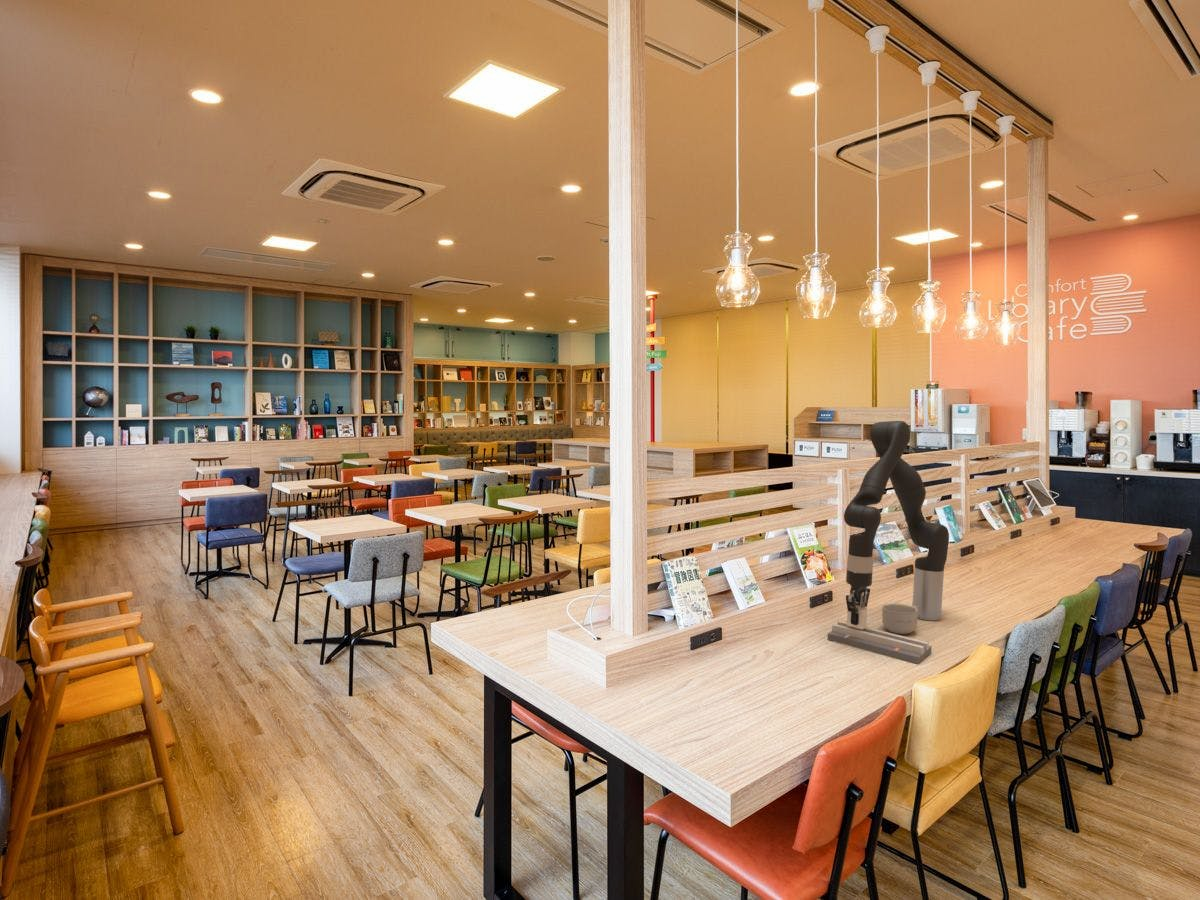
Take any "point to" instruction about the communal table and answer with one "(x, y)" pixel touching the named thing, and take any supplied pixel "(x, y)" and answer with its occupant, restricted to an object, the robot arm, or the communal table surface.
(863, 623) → the fader
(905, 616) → the teacup
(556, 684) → the communal table surface
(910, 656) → the track
